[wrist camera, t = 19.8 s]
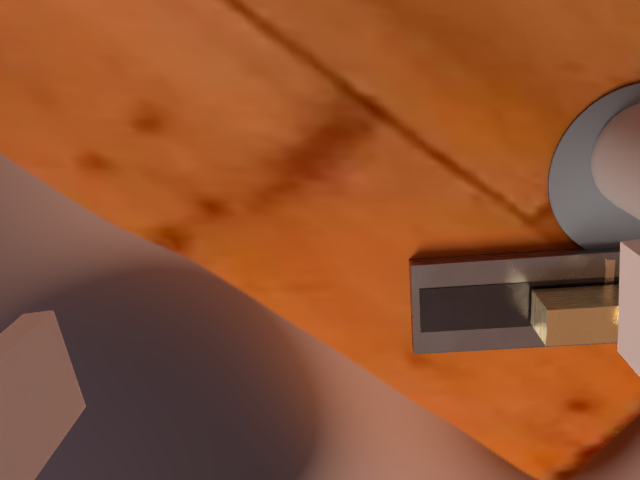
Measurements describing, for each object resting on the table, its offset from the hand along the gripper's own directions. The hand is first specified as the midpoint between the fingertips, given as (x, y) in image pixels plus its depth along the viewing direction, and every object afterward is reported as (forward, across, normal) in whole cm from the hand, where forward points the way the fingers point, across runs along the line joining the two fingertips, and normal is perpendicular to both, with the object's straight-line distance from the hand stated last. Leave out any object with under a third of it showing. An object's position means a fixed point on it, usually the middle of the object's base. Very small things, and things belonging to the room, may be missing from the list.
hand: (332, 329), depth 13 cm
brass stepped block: (+25, +16, -13) cm, 32 cm away
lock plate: (+26, +11, -13) cm, 31 cm away
